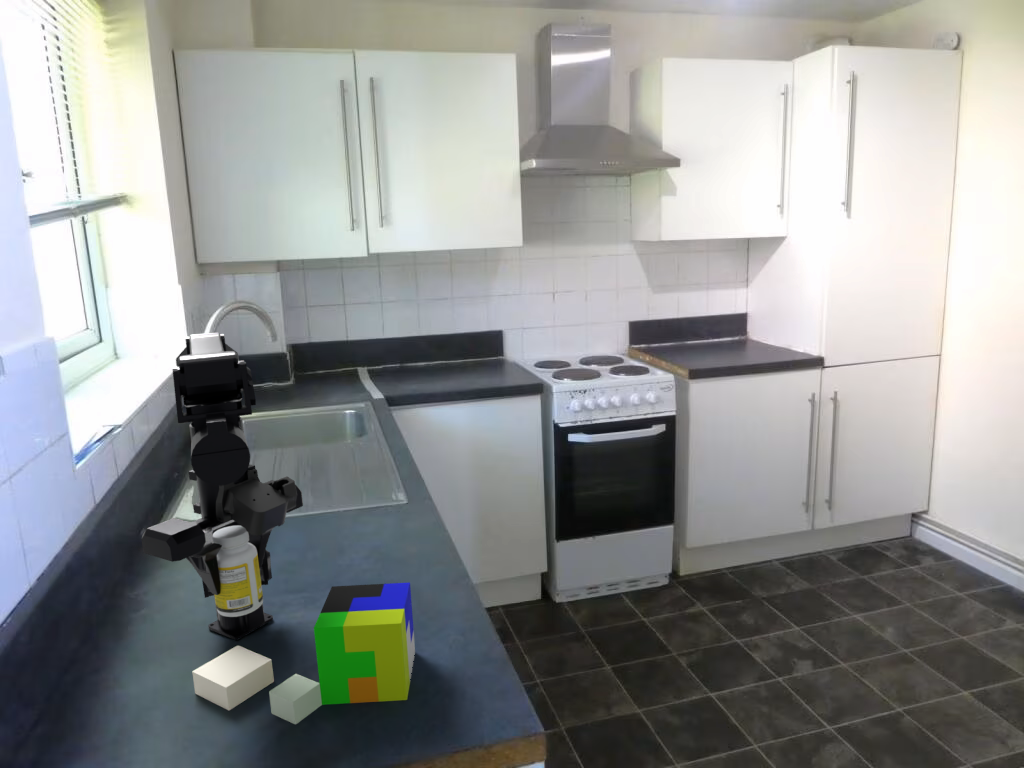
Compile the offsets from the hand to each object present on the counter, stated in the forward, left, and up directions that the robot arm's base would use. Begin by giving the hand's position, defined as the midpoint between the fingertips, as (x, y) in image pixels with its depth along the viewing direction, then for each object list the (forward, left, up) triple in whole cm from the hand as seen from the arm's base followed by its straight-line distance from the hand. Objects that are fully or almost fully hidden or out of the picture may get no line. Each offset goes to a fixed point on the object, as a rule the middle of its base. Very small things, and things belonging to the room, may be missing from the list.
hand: (236, 583), depth 88 cm
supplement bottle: (0, 0, -3) cm, 3 cm away
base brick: (0, -2, -13) cm, 13 cm away
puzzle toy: (+13, +8, -13) cm, 20 cm away
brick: (+10, -1, -13) cm, 16 cm away
